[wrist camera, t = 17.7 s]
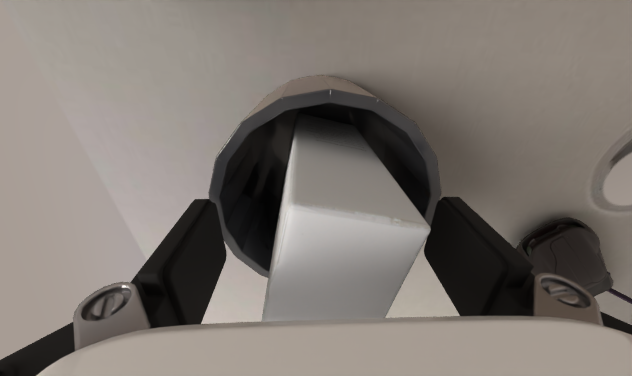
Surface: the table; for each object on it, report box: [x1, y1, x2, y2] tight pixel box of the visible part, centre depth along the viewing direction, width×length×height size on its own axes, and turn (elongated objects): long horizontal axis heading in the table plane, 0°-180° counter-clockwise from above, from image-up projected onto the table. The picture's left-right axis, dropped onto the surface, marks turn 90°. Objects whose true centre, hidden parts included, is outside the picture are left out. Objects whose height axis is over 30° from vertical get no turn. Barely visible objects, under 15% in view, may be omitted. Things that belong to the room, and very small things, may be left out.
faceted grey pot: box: [209, 75, 441, 278], centre depth 15 cm, size 11×11×8 cm
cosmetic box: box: [261, 113, 431, 322], centre depth 13 cm, size 6×4×12 cm
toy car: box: [516, 218, 613, 297], centre depth 23 cm, size 6×12×4 cm, turn 40°
